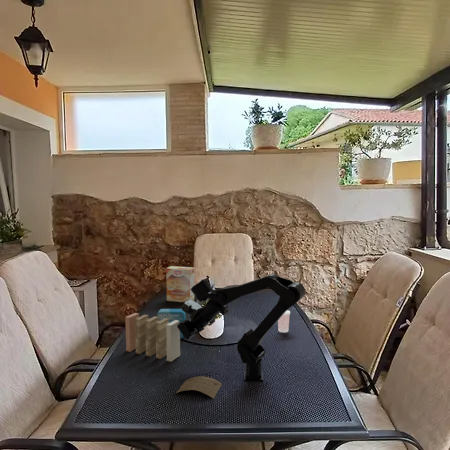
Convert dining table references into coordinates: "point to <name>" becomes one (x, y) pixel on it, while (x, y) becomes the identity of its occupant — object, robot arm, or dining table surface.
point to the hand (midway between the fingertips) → (184, 336)
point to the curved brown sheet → (202, 385)
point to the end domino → (130, 331)
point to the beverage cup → (284, 322)
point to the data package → (172, 316)
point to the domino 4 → (173, 340)
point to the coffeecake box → (179, 283)
